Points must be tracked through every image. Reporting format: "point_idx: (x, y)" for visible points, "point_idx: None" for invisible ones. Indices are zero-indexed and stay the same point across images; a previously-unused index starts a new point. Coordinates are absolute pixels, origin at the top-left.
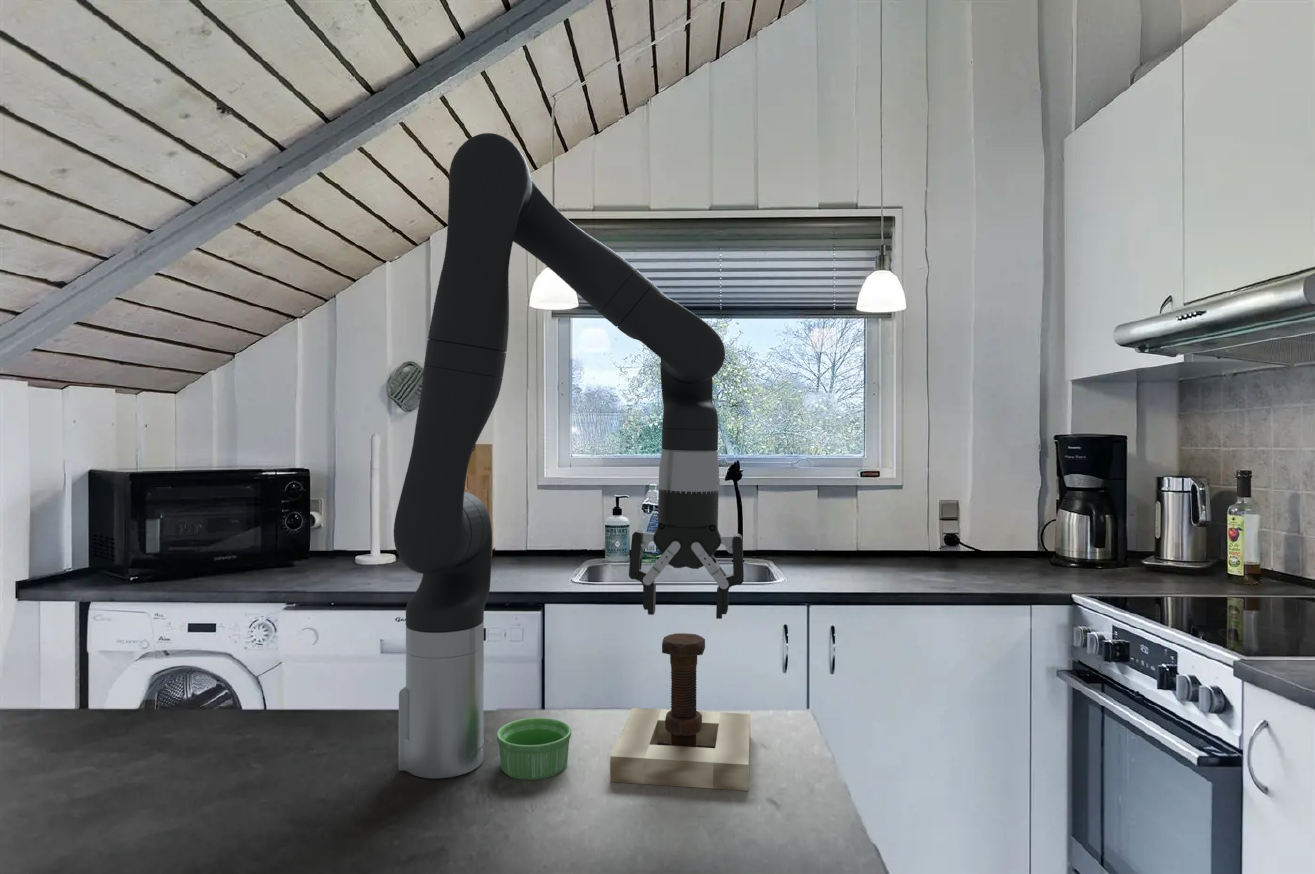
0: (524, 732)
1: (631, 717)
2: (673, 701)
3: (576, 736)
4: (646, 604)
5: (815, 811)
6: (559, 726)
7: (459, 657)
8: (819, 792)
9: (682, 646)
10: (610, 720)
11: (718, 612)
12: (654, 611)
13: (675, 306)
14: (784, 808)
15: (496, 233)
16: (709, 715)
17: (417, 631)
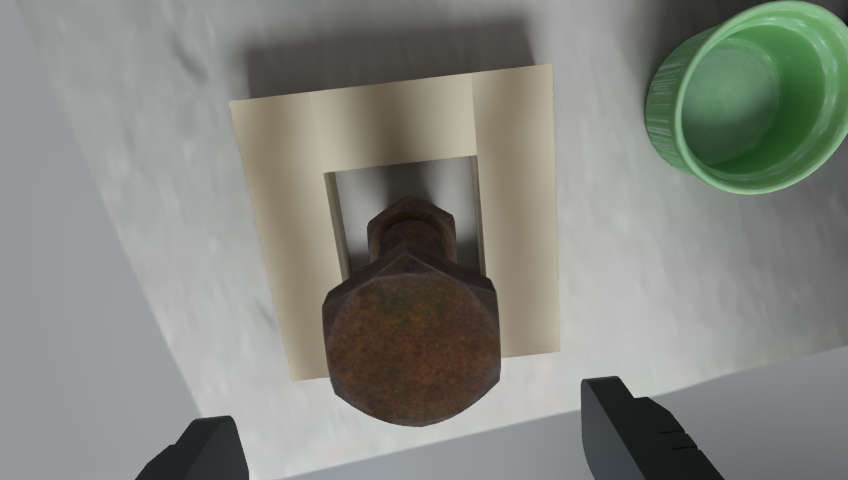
0: (783, 154)
1: (550, 296)
2: (436, 239)
3: (654, 266)
4: (649, 417)
5: (99, 44)
6: (709, 173)
7: None
8: (112, 133)
9: (397, 260)
10: (600, 359)
11: (201, 435)
12: (584, 427)
13: None
14: (161, 41)
15: None
16: None
17: None
